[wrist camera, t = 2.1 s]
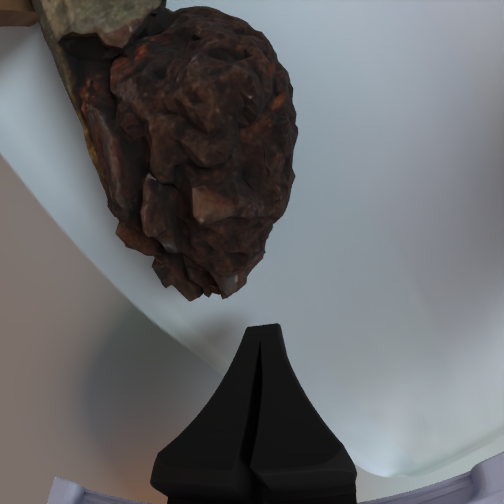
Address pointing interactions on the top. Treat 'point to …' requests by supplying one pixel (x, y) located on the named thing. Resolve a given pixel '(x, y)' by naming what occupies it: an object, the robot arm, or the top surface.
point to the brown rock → (180, 131)
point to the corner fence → (17, 13)
